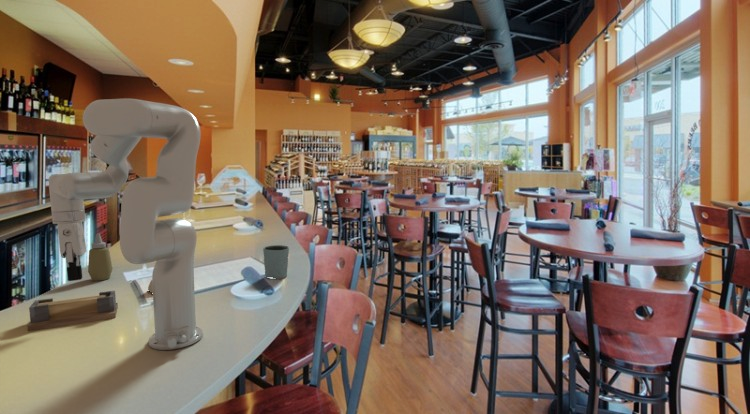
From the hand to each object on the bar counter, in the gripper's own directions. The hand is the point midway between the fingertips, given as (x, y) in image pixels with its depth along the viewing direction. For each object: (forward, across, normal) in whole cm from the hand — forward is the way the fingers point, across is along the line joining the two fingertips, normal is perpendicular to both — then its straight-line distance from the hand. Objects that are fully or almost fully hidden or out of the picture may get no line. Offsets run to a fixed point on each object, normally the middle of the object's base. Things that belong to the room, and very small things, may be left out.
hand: (75, 279), depth 116 cm
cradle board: (+12, +1, +1) cm, 12 cm away
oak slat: (+10, +1, +2) cm, 10 cm away
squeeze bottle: (+11, +46, -1) cm, 47 cm away
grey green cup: (+13, +17, -63) cm, 67 cm away
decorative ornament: (+12, +17, -20) cm, 29 cm away
